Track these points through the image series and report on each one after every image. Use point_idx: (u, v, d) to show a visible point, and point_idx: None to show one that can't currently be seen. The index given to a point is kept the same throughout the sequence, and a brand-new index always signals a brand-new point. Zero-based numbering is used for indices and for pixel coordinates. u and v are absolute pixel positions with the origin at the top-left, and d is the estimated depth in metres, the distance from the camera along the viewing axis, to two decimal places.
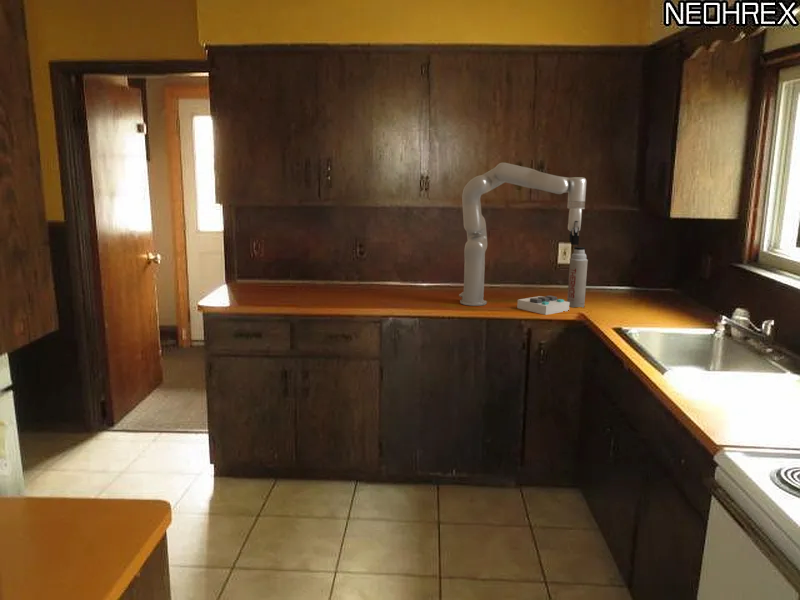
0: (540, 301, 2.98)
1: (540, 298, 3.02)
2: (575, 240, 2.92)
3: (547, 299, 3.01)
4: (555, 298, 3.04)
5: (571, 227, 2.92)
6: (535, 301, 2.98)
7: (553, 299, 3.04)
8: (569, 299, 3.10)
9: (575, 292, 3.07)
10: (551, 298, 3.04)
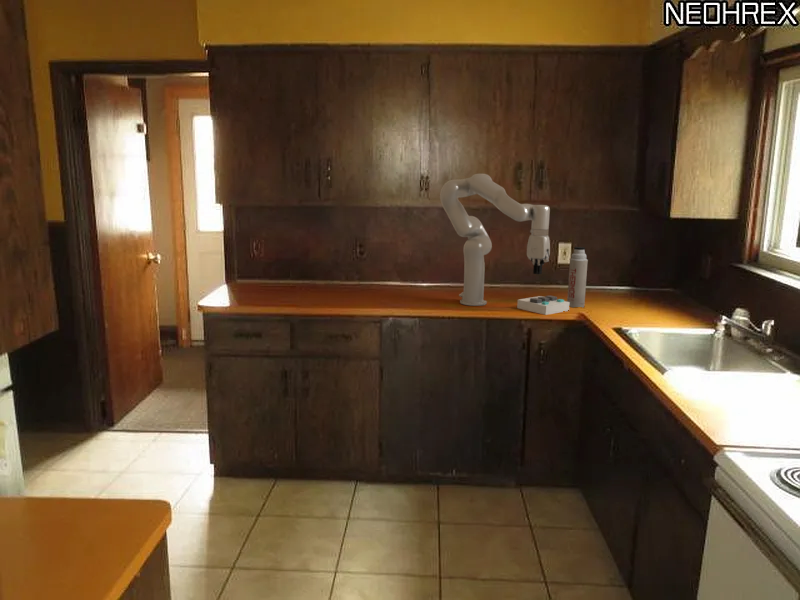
0: (540, 301, 2.98)
1: (540, 298, 3.02)
2: (540, 270, 2.95)
3: (547, 299, 3.01)
4: (555, 298, 3.04)
5: (544, 255, 2.90)
6: (535, 301, 2.98)
7: (553, 299, 3.04)
8: (569, 299, 3.10)
9: (575, 292, 3.07)
10: (551, 298, 3.04)
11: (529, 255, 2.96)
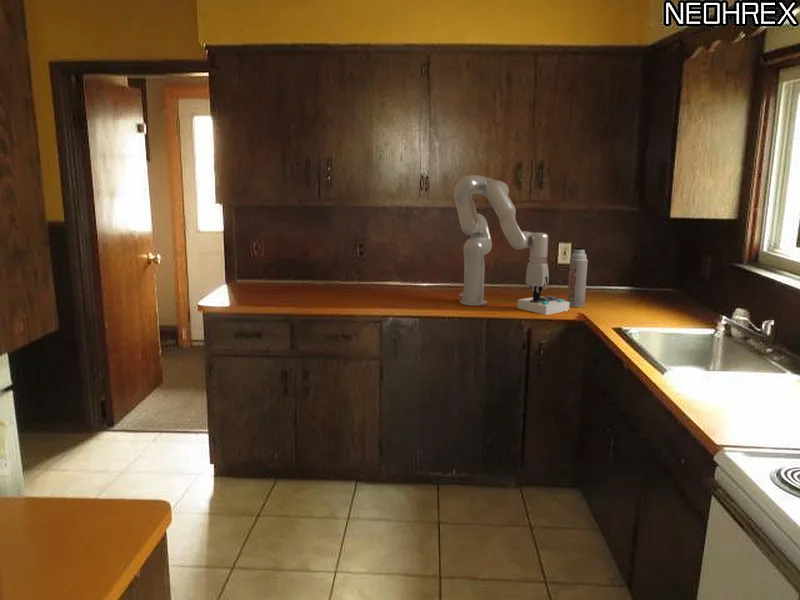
0: None
1: (540, 298, 3.02)
2: (539, 296, 2.98)
3: (547, 299, 3.01)
4: (555, 298, 3.04)
5: (543, 283, 2.93)
6: None
7: (553, 299, 3.04)
8: (569, 299, 3.10)
9: (575, 292, 3.07)
10: (551, 298, 3.04)
11: (528, 282, 2.98)
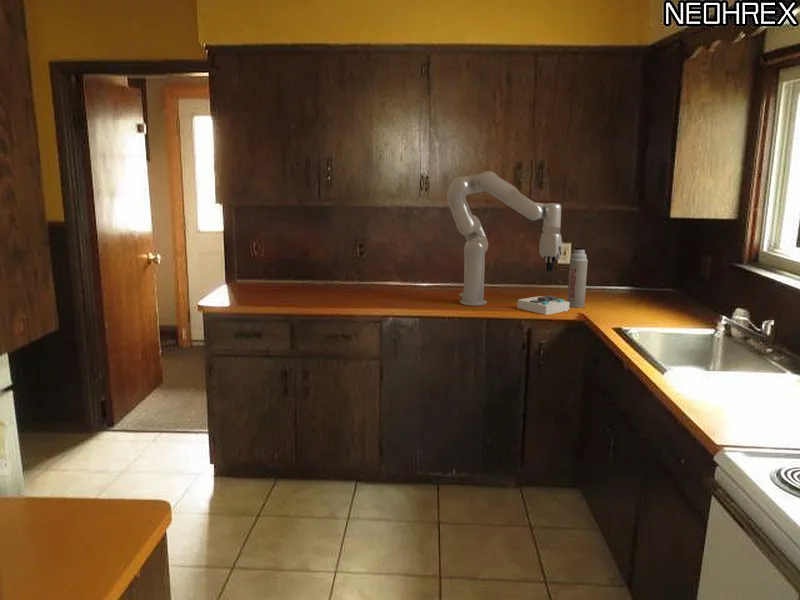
0: None
1: (540, 298, 3.02)
2: (552, 267, 3.00)
3: (547, 299, 3.01)
4: (555, 298, 3.04)
5: (556, 253, 2.95)
6: None
7: (553, 299, 3.04)
8: (569, 299, 3.10)
9: (575, 292, 3.07)
10: (551, 298, 3.04)
11: (541, 253, 3.00)
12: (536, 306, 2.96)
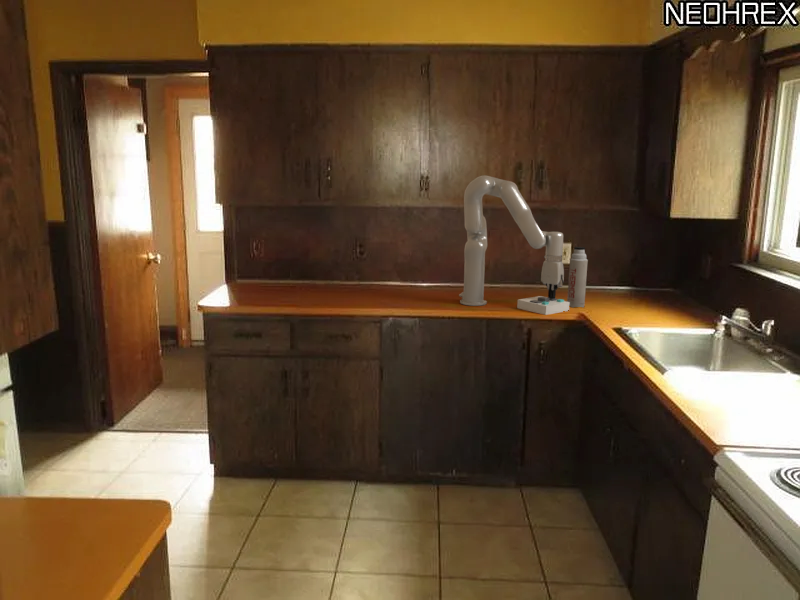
0: None
1: (540, 298, 3.02)
2: (554, 294, 3.04)
3: (547, 299, 3.01)
4: (555, 300, 3.05)
5: (558, 281, 2.99)
6: None
7: None
8: (569, 299, 3.10)
9: (575, 292, 3.07)
10: (551, 300, 3.04)
11: (543, 280, 3.05)
12: (536, 306, 2.96)
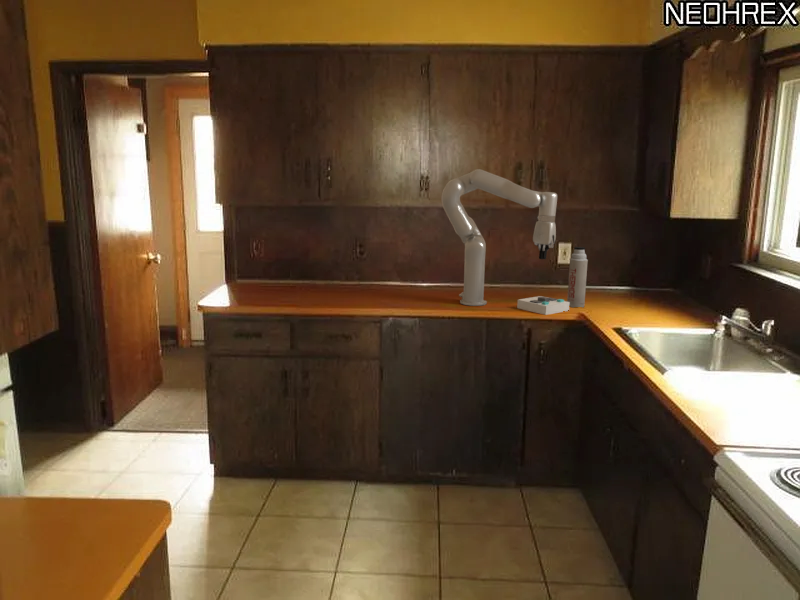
0: None
1: (540, 298, 3.02)
2: (545, 255, 3.04)
3: (547, 299, 3.01)
4: (555, 300, 3.05)
5: (549, 241, 2.99)
6: None
7: None
8: (569, 299, 3.10)
9: (575, 292, 3.07)
10: (551, 300, 3.04)
11: (535, 240, 3.05)
12: (536, 306, 2.96)
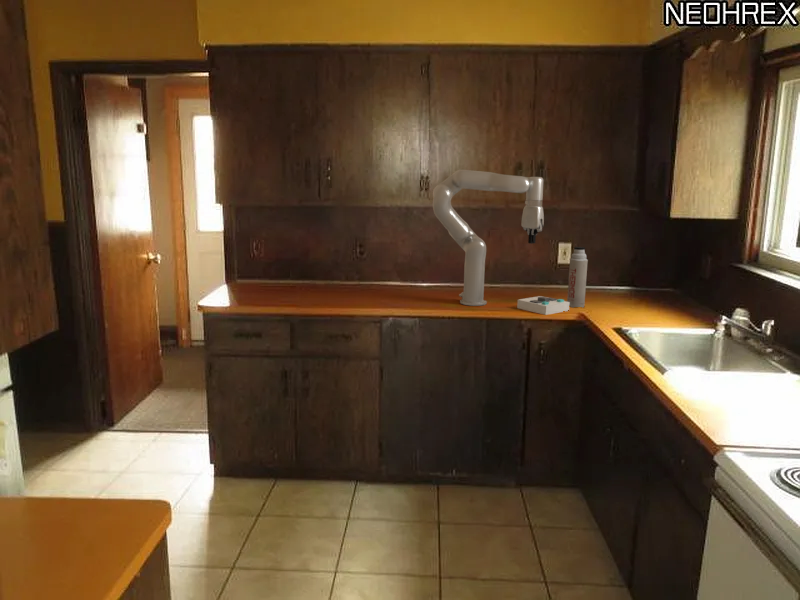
0: None
1: (540, 298, 3.02)
2: (534, 239, 3.08)
3: (547, 299, 3.01)
4: (555, 300, 3.05)
5: (538, 225, 3.03)
6: None
7: None
8: (569, 299, 3.10)
9: (575, 292, 3.07)
10: (551, 300, 3.04)
11: (524, 225, 3.09)
12: (536, 306, 2.96)
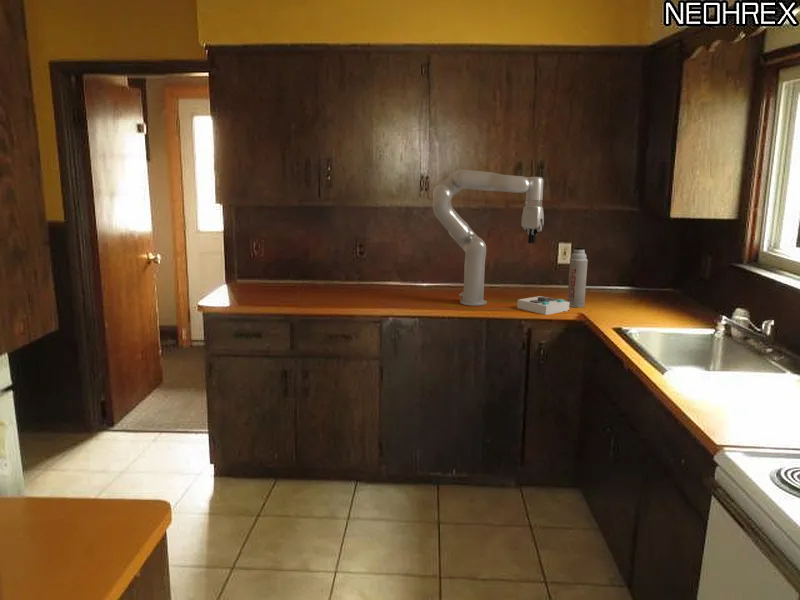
0: None
1: (540, 298, 3.02)
2: (534, 239, 3.08)
3: (547, 299, 3.01)
4: (555, 300, 3.05)
5: (538, 225, 3.03)
6: None
7: None
8: (569, 299, 3.10)
9: (575, 292, 3.07)
10: (551, 300, 3.04)
11: (524, 225, 3.09)
12: (536, 306, 2.96)
